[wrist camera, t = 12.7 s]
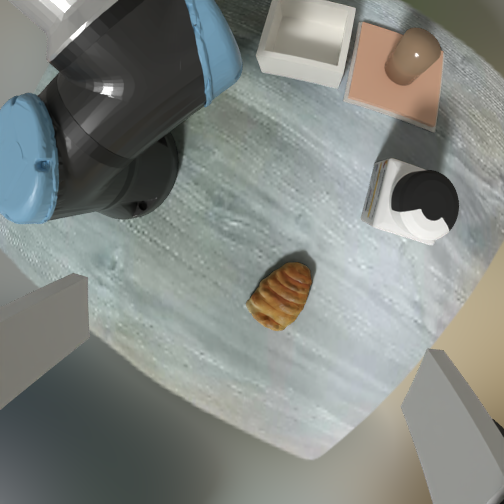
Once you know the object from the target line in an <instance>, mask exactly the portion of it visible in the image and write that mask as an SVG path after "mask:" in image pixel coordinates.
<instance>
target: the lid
mask: <svg viewBox="0 0 504 504" xmlns="http://www.w3.org/2000/svg"><path fill="white" fill-rule="evenodd" d="M442 64H443V51H441V47H440V44H439V42H438V41H437V39H436V38H435V37H434V36H433V35H432V34H431V33H430V32H428V31H427V30H424V29H422V28H410V29H408V30H407V31H406V32H405V34H404V35H402V34H399V33H396V32H393V31H390V30H388V29H385V28H381V27H378V26H375V25H372V24H369V23H365V22H362V25H361V31H360V37H359V42H358V48H357V53H356V59H355V64H354V69H353V74H352V79H351V84H350V89H349V94H348V98H349V99H352V100H356V101H359V102H362V103H366V104H369V105H372V106H375V107H378V108H381V109H384V110H387V111H390V112H393V113H396V114H399V115H401V116H404V117H407V118H409V119H412V120H415V121H417V122H420V123H422V124H425V125H427V126H430V127H434V126H435V123H436V117H437V110H438V102H439V94H440V86H441V76H442Z"/></svg>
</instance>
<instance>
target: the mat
mask: <svg viewBox="0 0 504 504" xmlns="http://www.w3.org/2000/svg"><path fill="white" fill-rule="evenodd" d="M361 25H362V22H359V23H358V28H357V34H356V39H355V45H354V50H353V55H352V60H351V65H350V70H349V75H348V80H347V85H346V90H345V95H344V99H343V102H347V103H350V104H354V105H357V106H360V107H363V108H367V109H370V110H373V111H376V112H379V113H382V114H385V115H388V116H391V117H394V118H396V119H399V120H402V121H405V122H407V123H410V124H413V125H415V126H418V127H420V128H423V129H425V130H428V131H430V132H433V133H435V129H436V123H437V117H438V110H439V103H440V95H441V86H442V76H443V65H444V53H443V64H442V76H441V86H440V94H439V102H438V110H437V117H436V123H435V126H434V127H430V126H427V125H425V124H422V123H420V122H417V121H415V120H412V119H409V118H407V117H404V116H401V115H399V114H396V113H393V112H390V111H387V110H384V109H381V108H378V107H375V106H372V105H369V104H366V103H362V102H359V101H356V100H352V99H349V98H348V94H349V89H350V84H351V79H352V74H353V69H354V64H355V59H356V53H357V48H358V42H359V37H360V31H361Z"/></svg>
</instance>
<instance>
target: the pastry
mask: <svg viewBox="0 0 504 504" xmlns="http://www.w3.org/2000/svg"><path fill="white" fill-rule="evenodd" d="M311 284H312V280H311V274H310V269H309V268H308V267H307V266H305V265H304V264H301V263H298V262H289V263H286V264H284V265H283V266H282V267H280V268H279V269H277V270H275V271H274V272H272V273H271V274H270V275H269V276H268V277H267V278H265V279H263V280H262V281H261V282H260V285H259V287H258V288H257V289H256V291H255V292H254V294H253V295H252V296H251V298H250V299H249V300H247V302H246V306H247V308H248V310H249V312H250V313H251V314H252V316H253V317H254V319H256V320H257V321H258V322H259V323H261V324H262V325H263V326H265V327H267V328H270V329H271V330H275V331H281V330H284V329H285V328H286V327H287V326H288V325H290V324H291V323H292V322H294V321H295V320H296V318H297V317H298V315H299V313H300V312H301V311H302V310H303V308H304V305H305V303H306V300H307V297H308V293H309V289H310V286H311Z"/></svg>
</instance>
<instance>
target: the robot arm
mask: <svg viewBox="0 0 504 504" xmlns="http://www.w3.org/2000/svg"><path fill="white" fill-rule="evenodd" d="M8 1H9V2H10V3H11V4H13V5H14V6H15V7H16V8H17V9H19V10H20V11H21V12H22V13H23V14H24V15H26V17H28V18H29V19H30V20H31V21H32V22H33V23H35V24H36V25H37V26H38V27H39V28H40V29H41V30H43V31H44V32H45V33H46V36H47V58H46V59H47V61H48V62H49V63H50V64H51V65H52V66H54V67H55V68H56V69H57V70H58V71H59V73H58V74H57V75H56V76H55V78H54V79H53V80H52V81H51V82H50V83H49V84H48V85H47V87H46V88H45V89H44V90H43V91H42V92H41V93H40V94H39V95H38V96H37V95H36V94H32V93H25V94H22V95H20V96H14V97H13V98H11V99H9V100H8V101H7V102H6V103H5V104H4V105H3V106H2V107H1V109H0V213H1V214H2V215H3V216H4V217H5V218H6V219H8V220H10V221H12V222H14V223H17V224H34V223H36V224H41V223H44V222H46V221H49V220H54V219H59V218H64V217H69V216H75V215H80V214H85V213H91V212H99V213H101V214H104V215H106V216H108V217H111V218H115V219H132V218H137V217H141V216H144V215H146V214H149V213H150V212H152V211H154V210H155V209H156V208H157V207H159V206H160V205H161V204H162V203H163V201H164V200H165V199H166V198H167V196H168V195H169V193H170V191H171V189H172V187H173V185H174V182H175V179H176V175H177V169H178V154H177V149H176V145H175V142H174V139H173V137H172V135H171V134H170V131H171V130H172V129H174V128H175V127H176V126H178V125H179V124H180V123H182V122H183V121H184V120H186V119H187V118H188V117H190V116H191V115H193V114H194V113H195V112H197V111H198V110H200V109H201V108H202V107H207V106H209V105H210V104H211V101H212V100H213V99H214V98H215V97H217V96H218V95H219V94H221V93H222V92H223V91H225V90H226V89H228V88H229V87H230V86H232V85H233V84H234V83H236V82H237V80H238V79H239V78H240V76H241V73H242V58H241V54H240V50H239V47H238V45H237V42H236V40H235V38H234V35H233V33H232V31H231V29H230V27H229V25H228V23H227V21H226V19H225V17H224V16H223V14H222V12H221V10H220V9H219V7H218V5H217V4H216V2H215V1H214V0H8ZM89 338H90V333H89V314H88V277H85V276H82V275H78V274H75V273H72V274H70V275H68V276H66V277H64V278H61V279H59V280H57V281H55V282H53V283H50V284H48V285H46V286H44V287H42V288H40V289H37V290H35V291H33V292H31V293H29V294H27V295H25V296H23V297H21V298H18V299H17V300H14V301H12V302H10V303H8V304H6V305H4V306H2V307H0V410H1V409H2V408H3V407H4V406H5V405H6V404H8V403H9V402H10V401H11V400H13V399H14V398H15V397H16V396H17V395H19V394H20V393H21V392H22V391H24V390H25V389H26V388H27V387H28V386H30V385H31V384H32V383H33V382H34V381H36V380H37V379H38V378H40V377H41V376H42V375H43V374H44V373H45V372H47V371H48V370H49V369H51V368H52V367H53V366H54V365H56V364H57V363H58V362H60V361H61V360H62V359H63V358H65V357H66V356H67V355H68V354H70V353H71V352H72V351H73V350H75V349H76V348H77V347H78V346H80V345H81V344H82V343H83V342H85V341H86V340H87V339H89ZM401 409H402V411H403V414H404V416H405V419H406V422H407V425H408V427H409V430H410V433H411V436H412V439H413V442H414V445H415V448H416V450H417V454H418V456H419V459H420V463H421V466H422V468H423V472H424V475H425V478H426V482H427V485H428V488H429V491H430V495H431V498H432V502H433V504H504V429H503V427H502V426H500V425H499V424H498V423H497V422H496V421H495V420H494V419H492V418H491V417H490V416H489V414H488V412H487V411H486V409H485V408H484V406H483V405H482V403H481V402H480V401H479V399H478V397H477V396H476V395H475V393H474V392H473V390H472V389H471V387H470V386H469V385H468V383H467V382H466V380H465V379H464V377H463V376H462V375H461V373H460V372H459V371H458V369H457V368H456V366H455V365H454V364H453V363H452V361H451V360H450V358H449V357H448V356H447V354H446V353H445V352H444V350H436V349H427V350H426V353H425V355H424V358H423V360H422V363H421V365H420V367H419V369H418V372H417V374H416V376H415V378H414V380H413V382H412V385H411V387H410V389H409V391H408V393H407V395H406V397H405V399H404V401H403V403H402V405H401Z"/></svg>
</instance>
